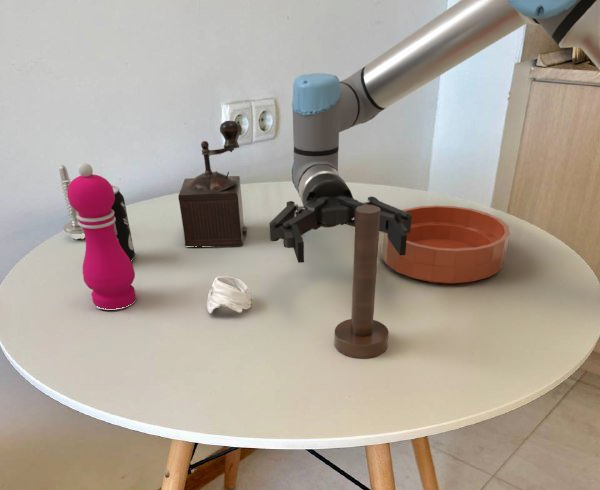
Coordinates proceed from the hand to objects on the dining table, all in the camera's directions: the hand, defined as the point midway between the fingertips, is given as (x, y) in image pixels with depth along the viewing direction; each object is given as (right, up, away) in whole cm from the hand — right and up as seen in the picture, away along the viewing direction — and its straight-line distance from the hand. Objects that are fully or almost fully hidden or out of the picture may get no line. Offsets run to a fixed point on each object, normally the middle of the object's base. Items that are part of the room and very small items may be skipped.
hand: (352, 249), depth 77 cm
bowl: (+17, +3, +22) cm, 27 cm away
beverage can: (-38, +4, +24) cm, 45 cm away
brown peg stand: (+1, -12, +1) cm, 12 cm away
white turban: (-17, -6, +10) cm, 21 cm away
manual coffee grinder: (-22, +12, +34) cm, 42 cm away
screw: (-48, +10, +33) cm, 59 cm away
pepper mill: (-35, -5, +12) cm, 37 cm away
